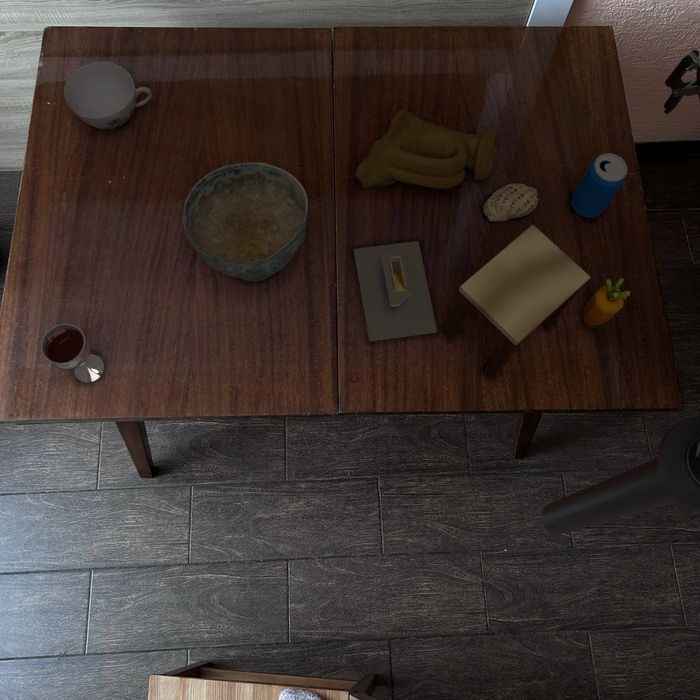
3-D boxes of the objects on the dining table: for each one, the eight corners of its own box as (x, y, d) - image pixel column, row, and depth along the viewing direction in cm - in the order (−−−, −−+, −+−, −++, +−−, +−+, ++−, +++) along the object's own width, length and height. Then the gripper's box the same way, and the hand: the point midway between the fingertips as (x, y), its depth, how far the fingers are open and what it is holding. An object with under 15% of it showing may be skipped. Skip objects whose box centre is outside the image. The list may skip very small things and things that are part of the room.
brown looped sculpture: (388, 81, 129) (505, 101, 124) (387, 141, 139) (495, 162, 134) (354, 135, 118) (481, 159, 113) (355, 196, 128) (472, 221, 123)
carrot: (567, 315, 122) (598, 278, 108) (592, 306, 123) (627, 268, 109) (580, 340, 121) (613, 306, 106) (605, 331, 121) (642, 296, 107)
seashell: (508, 240, 130) (546, 199, 128) (506, 235, 124) (546, 191, 123) (477, 214, 132) (514, 173, 130) (474, 207, 126) (512, 164, 124)
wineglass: (110, 348, 118) (87, 322, 107) (108, 386, 116) (83, 364, 104) (70, 349, 118) (42, 323, 106) (66, 388, 115) (38, 365, 104)
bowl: (323, 223, 127) (322, 176, 113) (288, 316, 121) (282, 278, 107) (222, 193, 129) (209, 143, 114) (182, 283, 122) (163, 242, 108)
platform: (418, 241, 126) (422, 222, 120) (437, 332, 120) (443, 318, 114) (353, 249, 125) (354, 231, 119) (369, 341, 120) (371, 327, 113)
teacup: (79, 148, 131) (64, 120, 124) (77, 94, 135) (62, 64, 128) (160, 138, 132) (149, 110, 125) (155, 85, 136) (145, 55, 129)
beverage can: (578, 184, 131) (601, 145, 120) (609, 199, 130) (635, 162, 119) (563, 209, 129) (586, 172, 118) (595, 225, 128) (620, 189, 117)
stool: (554, 321, 122) (590, 277, 105) (491, 379, 118) (518, 342, 101) (505, 274, 125) (532, 224, 108) (442, 329, 121) (460, 286, 104)
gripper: (692, 32, 95) (640, 111, 111) (776, 96, 92) (710, 169, 107) (725, 6, 97) (669, 88, 113) (808, 68, 94) (739, 144, 109)
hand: (689, 127), depth 110 cm, fingers open, 8 cm apart
